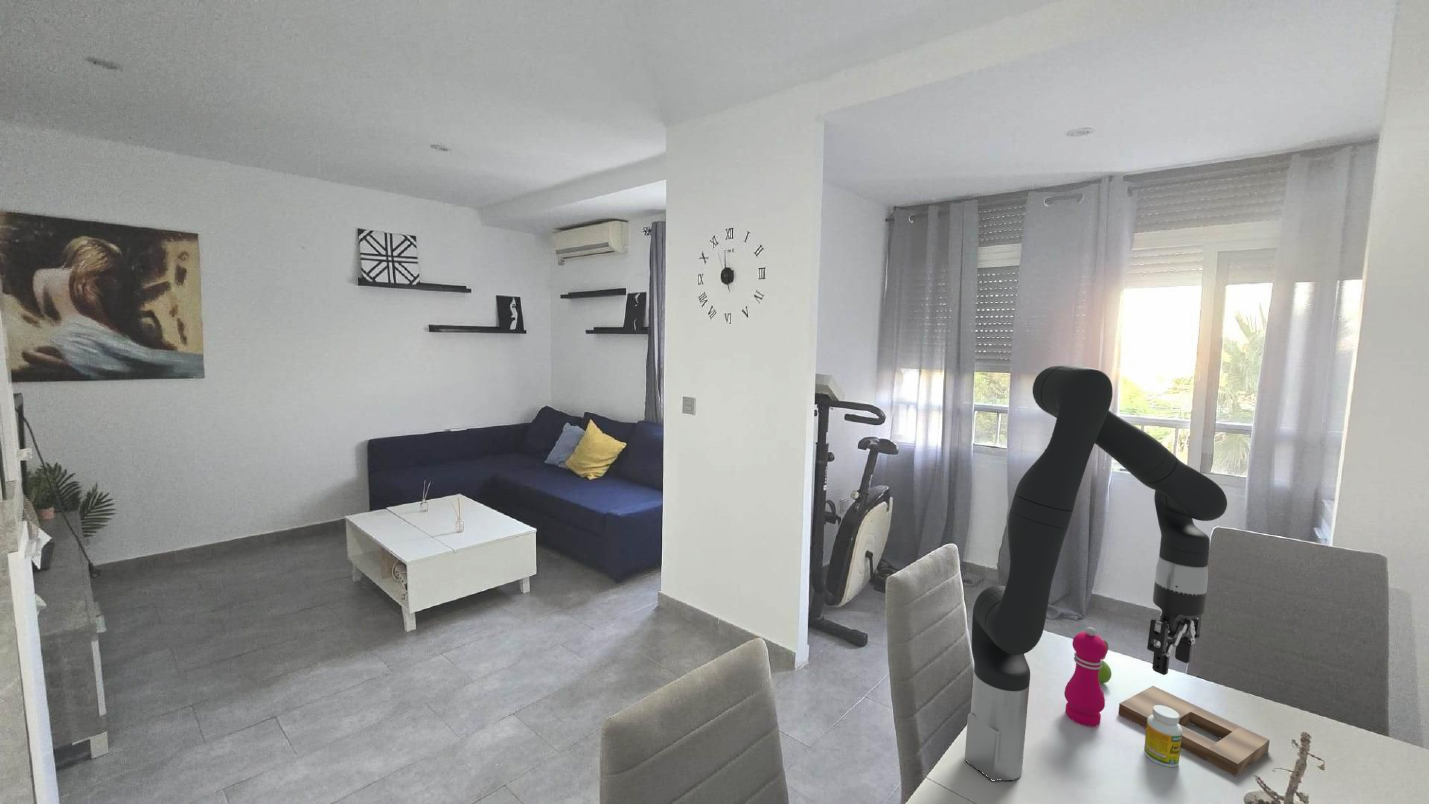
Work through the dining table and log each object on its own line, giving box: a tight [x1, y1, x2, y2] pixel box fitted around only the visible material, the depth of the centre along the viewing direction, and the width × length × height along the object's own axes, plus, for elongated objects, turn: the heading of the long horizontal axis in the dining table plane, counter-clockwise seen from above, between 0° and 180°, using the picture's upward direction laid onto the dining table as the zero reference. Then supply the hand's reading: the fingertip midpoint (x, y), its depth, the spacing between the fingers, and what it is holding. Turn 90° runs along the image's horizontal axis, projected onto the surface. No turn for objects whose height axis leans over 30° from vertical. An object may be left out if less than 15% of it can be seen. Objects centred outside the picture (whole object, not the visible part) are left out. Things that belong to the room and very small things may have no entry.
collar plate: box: [1118, 685, 1270, 777], centre depth 119 cm, size 14×20×2 cm
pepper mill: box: [1064, 626, 1108, 728], centre depth 122 cm, size 7×7×20 cm
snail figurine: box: [1099, 638, 1112, 685], centre depth 136 cm, size 5×6×12 cm
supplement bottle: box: [1143, 705, 1182, 768], centre depth 111 cm, size 5×5×10 cm
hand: (1171, 666), depth 110 cm, fingers open, 8 cm apart
